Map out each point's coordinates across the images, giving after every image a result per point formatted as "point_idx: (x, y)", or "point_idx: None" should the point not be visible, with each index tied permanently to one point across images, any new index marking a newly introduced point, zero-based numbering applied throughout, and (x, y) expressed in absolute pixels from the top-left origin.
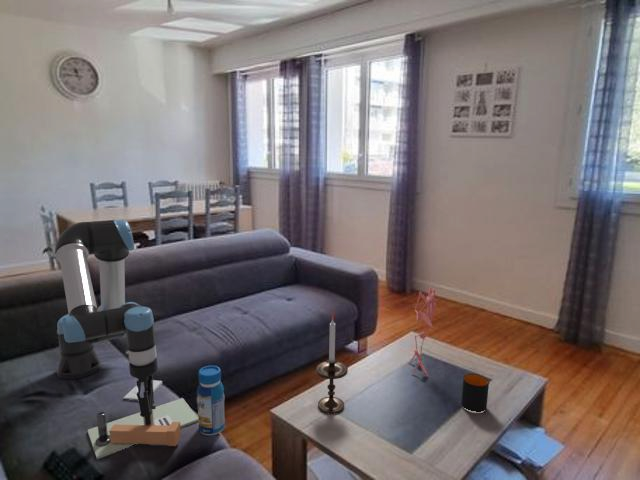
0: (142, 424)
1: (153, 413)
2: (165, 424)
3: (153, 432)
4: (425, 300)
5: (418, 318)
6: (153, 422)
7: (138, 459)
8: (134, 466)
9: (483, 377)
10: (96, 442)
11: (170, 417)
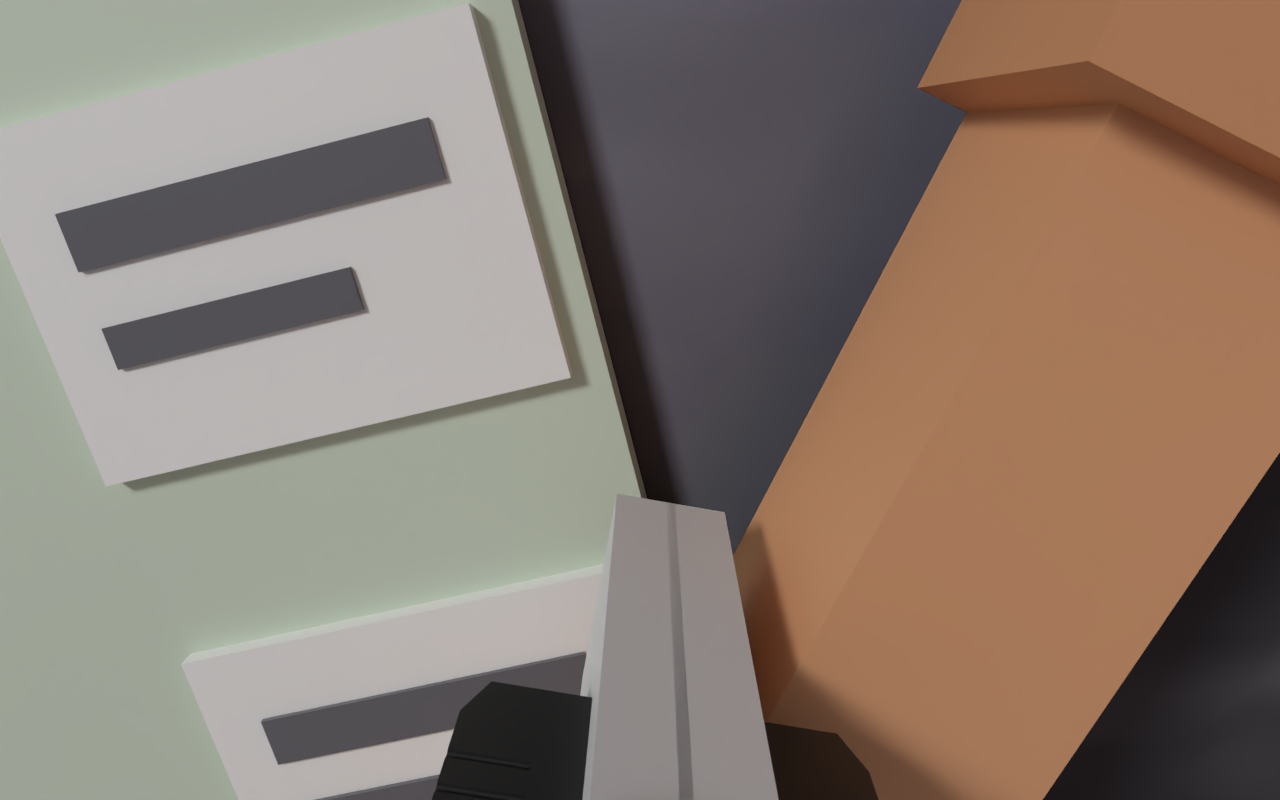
0: (200, 668)
1: (604, 793)
2: (343, 227)
3: (1128, 634)
4: None
5: None
6: (743, 650)
7: (1130, 711)
8: (1273, 766)
9: None
10: None
11: (59, 90)
